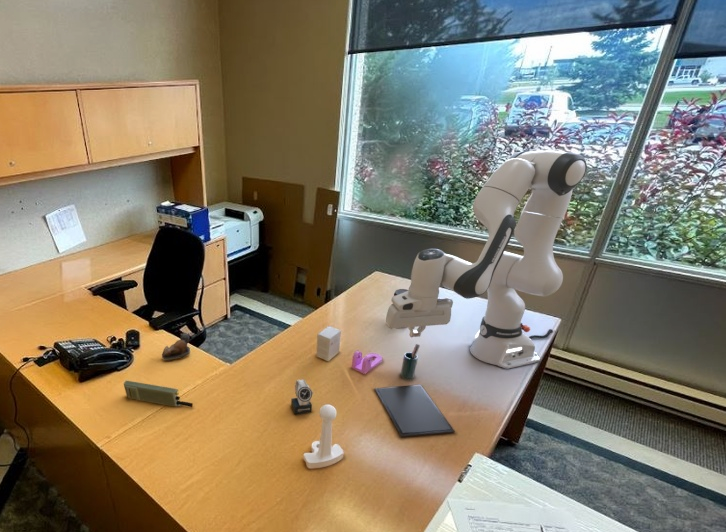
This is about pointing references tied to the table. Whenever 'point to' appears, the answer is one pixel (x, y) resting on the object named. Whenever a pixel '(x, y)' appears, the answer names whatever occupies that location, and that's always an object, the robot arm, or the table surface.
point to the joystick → (324, 442)
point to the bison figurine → (177, 348)
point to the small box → (328, 343)
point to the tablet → (413, 411)
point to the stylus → (415, 351)
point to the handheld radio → (153, 394)
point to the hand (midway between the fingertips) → (414, 336)
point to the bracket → (365, 361)
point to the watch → (302, 398)
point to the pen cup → (408, 366)
